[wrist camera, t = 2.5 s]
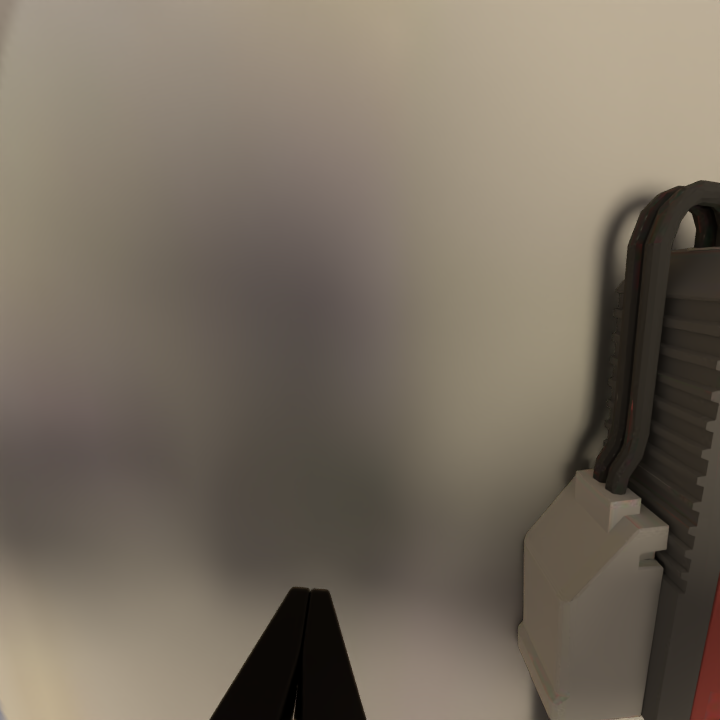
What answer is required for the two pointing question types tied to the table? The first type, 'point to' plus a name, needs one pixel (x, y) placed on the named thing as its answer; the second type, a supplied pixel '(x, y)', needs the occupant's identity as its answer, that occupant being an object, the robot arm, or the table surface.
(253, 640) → the table surface
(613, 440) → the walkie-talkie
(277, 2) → the table surface
